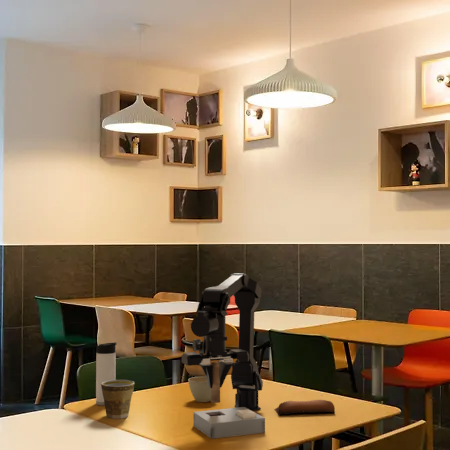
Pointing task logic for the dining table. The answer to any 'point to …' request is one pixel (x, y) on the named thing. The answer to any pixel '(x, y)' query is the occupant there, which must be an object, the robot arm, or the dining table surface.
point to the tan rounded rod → (215, 383)
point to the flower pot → (200, 389)
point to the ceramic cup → (117, 397)
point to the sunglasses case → (305, 407)
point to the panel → (227, 423)
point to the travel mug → (104, 368)
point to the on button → (245, 414)
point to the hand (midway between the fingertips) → (215, 387)
